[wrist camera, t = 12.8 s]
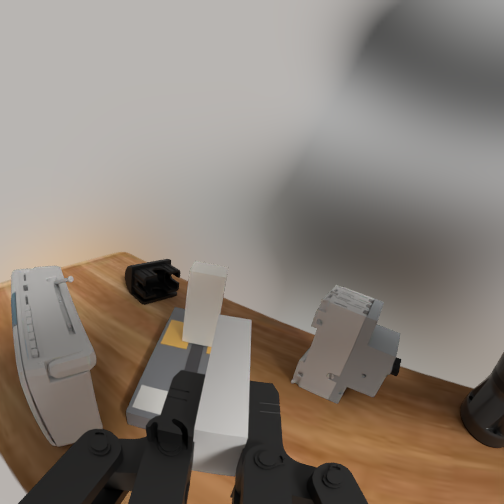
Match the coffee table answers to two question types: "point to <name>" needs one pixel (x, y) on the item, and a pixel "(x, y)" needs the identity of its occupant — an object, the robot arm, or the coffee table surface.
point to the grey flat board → (165, 370)
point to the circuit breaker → (348, 347)
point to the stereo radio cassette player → (53, 355)
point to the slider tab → (203, 302)
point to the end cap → (152, 281)
